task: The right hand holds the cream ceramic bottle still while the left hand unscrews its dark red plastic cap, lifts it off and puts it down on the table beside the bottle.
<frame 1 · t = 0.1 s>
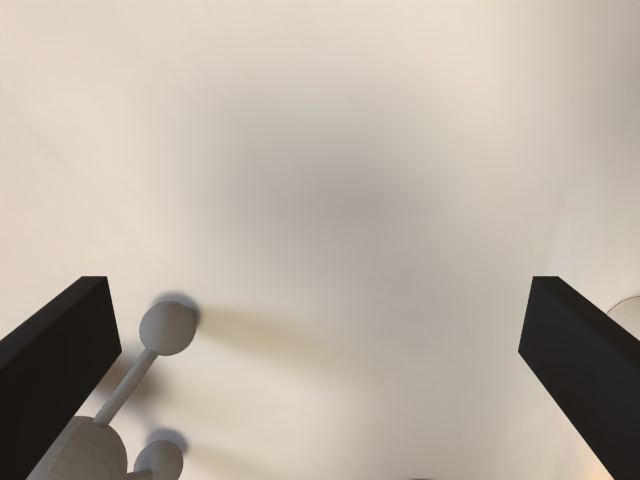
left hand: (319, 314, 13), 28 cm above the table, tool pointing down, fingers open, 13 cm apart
bottle: (633, 324, 45), on the table
molecular model: (141, 363, 47), on the table
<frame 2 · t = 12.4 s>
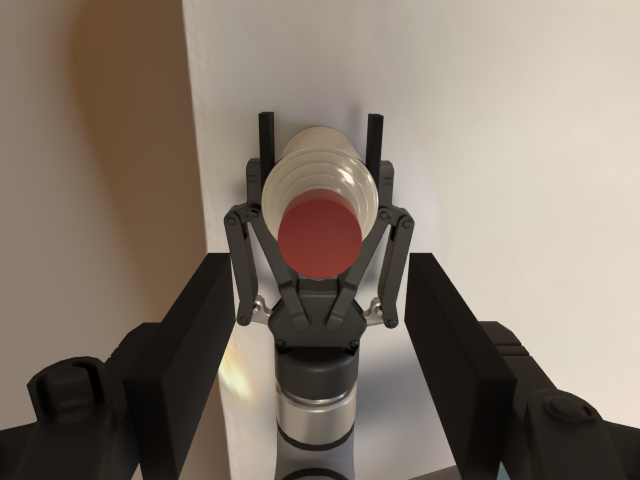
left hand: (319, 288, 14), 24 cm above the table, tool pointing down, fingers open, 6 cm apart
right hand: (321, 114, 29), fingers closed on bottle, 7 cm apart
cap: (319, 238, 19), point 19 cm above the table, screwed on, not yet turned
bottle: (319, 166, 37), on the table, touching right hand
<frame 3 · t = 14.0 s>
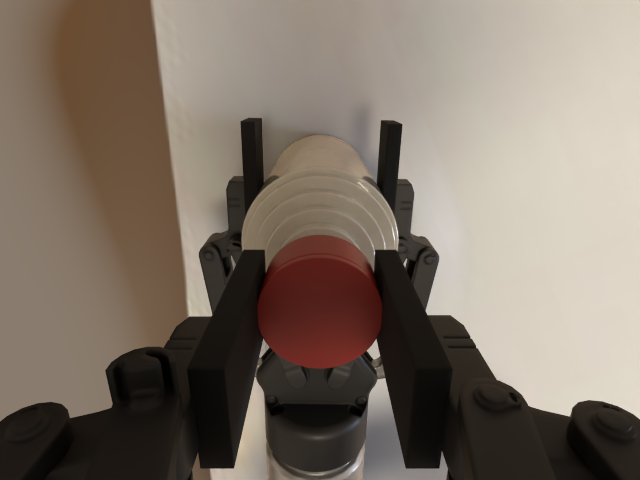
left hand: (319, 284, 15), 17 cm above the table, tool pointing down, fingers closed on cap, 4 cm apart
cap: (319, 311, 13), point 19 cm above the table, screwed on, not yet turned, touching left hand
bottle: (320, 183, 31), on the table, touching right hand
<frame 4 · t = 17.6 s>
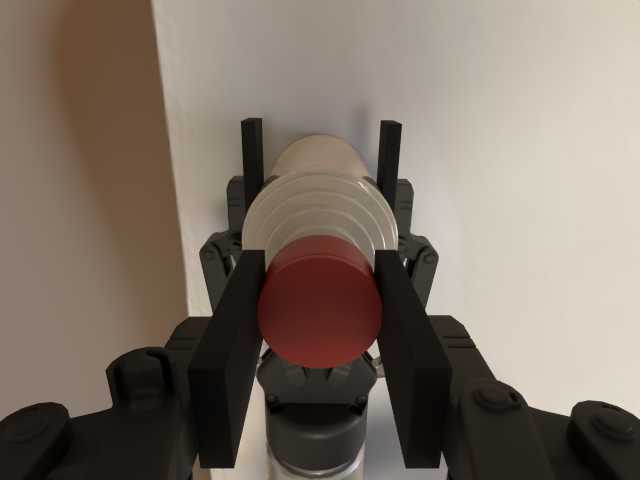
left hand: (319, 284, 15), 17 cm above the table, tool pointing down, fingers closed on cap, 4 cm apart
cap: (319, 311, 13), point 19 cm above the table, turned 115° so far, risen 0.1 cm, still on its thread, touching left hand
bottle: (319, 183, 31), on the table, touching right hand
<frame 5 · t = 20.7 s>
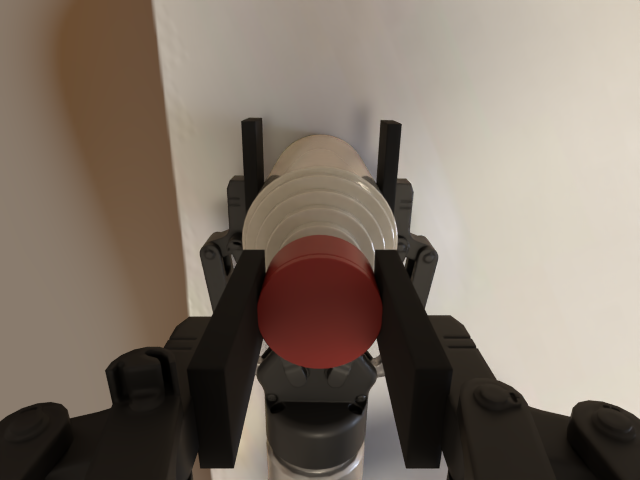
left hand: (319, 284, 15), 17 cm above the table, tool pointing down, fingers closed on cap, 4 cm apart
cap: (319, 311, 13), point 19 cm above the table, turned 230° so far, risen 0.2 cm, still on its thread, touching left hand
bottle: (319, 182, 31), on the table, touching right hand
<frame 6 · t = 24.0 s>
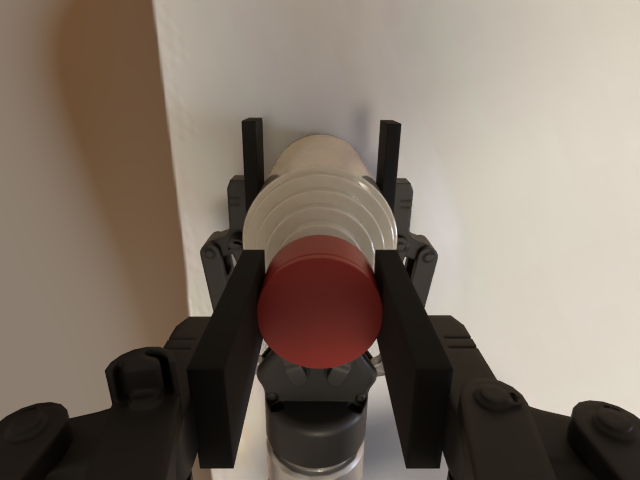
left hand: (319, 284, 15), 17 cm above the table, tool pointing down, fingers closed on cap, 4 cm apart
cap: (319, 311, 13), point 19 cm above the table, turned 345° so far, risen 0.3 cm, still on its thread, touching left hand
bottle: (319, 182, 31), on the table, touching right hand
when the left hand's fingers open (2 cm above the table, at t = 31.2 s): cap drops 2 cm, point 2 cm above the table.
when the right hand's fingers open (6 cm above the table, at t = 32.4 s): bottle stays where it is, on the table.
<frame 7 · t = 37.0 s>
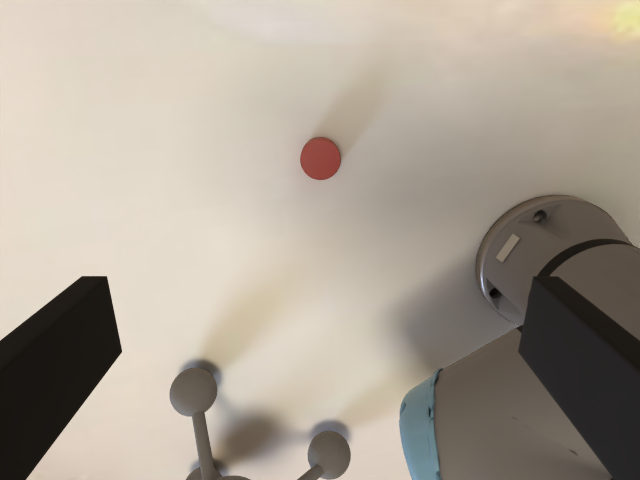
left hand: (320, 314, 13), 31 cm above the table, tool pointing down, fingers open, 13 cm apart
cap: (320, 159, 40), point 2 cm above the table, off its thread
molecular model: (239, 418, 54), on the table
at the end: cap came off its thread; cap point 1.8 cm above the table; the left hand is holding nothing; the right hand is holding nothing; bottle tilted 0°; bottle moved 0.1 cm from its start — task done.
